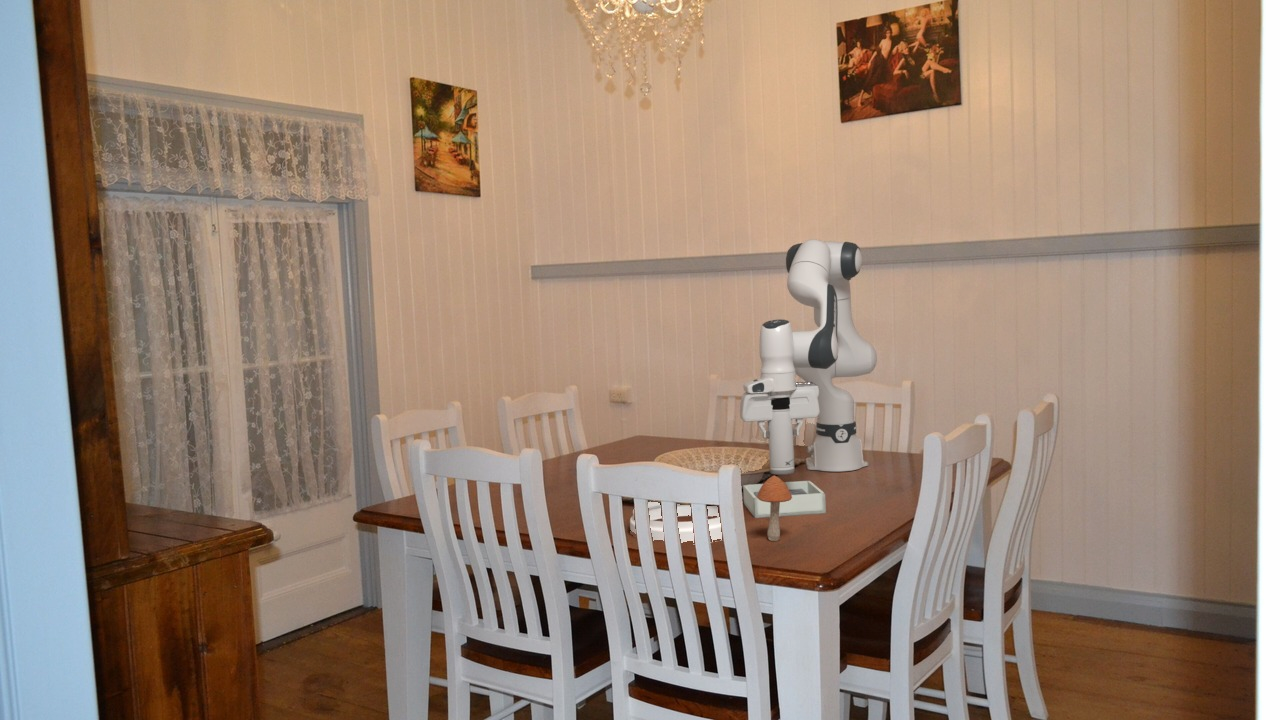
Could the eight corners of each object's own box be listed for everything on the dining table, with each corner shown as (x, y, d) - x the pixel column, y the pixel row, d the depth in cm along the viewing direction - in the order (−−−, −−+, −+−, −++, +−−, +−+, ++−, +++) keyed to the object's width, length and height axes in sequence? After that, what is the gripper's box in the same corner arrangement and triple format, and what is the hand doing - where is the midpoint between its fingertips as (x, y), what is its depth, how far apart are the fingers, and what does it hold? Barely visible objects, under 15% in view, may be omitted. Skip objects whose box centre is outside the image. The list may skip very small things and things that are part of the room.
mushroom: (801, 539, 214) (798, 474, 213) (775, 547, 210) (772, 480, 209) (777, 533, 221) (774, 470, 220) (751, 540, 216) (748, 475, 215)
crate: (743, 503, 252) (743, 485, 252) (810, 498, 253) (809, 480, 253) (755, 518, 236) (754, 498, 236) (825, 513, 237) (825, 493, 237)
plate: (615, 526, 237) (614, 504, 237) (713, 511, 246) (712, 491, 246) (654, 552, 212) (652, 528, 212) (761, 535, 221) (760, 512, 221)
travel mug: (795, 474, 240) (791, 396, 239) (769, 475, 241) (765, 397, 240) (796, 470, 246) (793, 393, 245) (771, 470, 248) (767, 394, 247)
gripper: (815, 379, 246) (817, 432, 247) (737, 384, 245) (740, 437, 246) (821, 382, 240) (823, 436, 241) (741, 387, 238) (744, 441, 239)
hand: (780, 437), depth 243 cm, fingers closed on travel mug, 6 cm apart
